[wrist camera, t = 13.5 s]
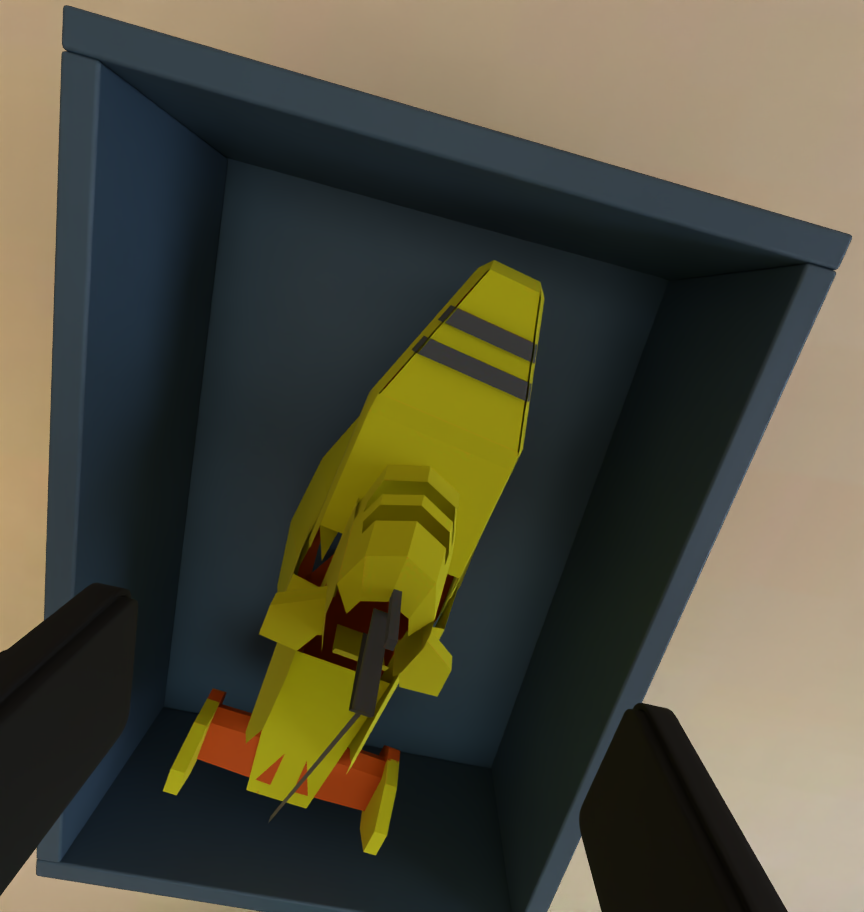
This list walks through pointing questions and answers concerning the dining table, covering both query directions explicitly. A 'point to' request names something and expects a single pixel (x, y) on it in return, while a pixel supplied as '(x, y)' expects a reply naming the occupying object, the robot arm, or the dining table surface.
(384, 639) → the yellow toy submarine
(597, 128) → the dining table surface
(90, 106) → the tote
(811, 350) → the dining table surface
